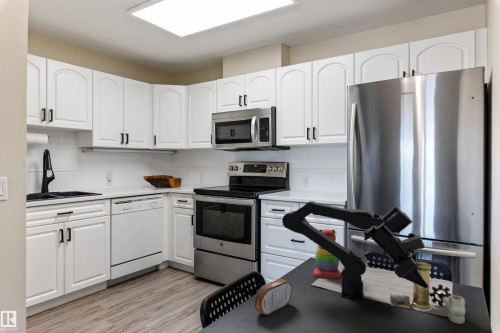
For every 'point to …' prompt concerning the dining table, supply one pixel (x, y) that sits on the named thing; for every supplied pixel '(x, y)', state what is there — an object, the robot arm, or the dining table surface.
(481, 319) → the dining table surface
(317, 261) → the stacking bear
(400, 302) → the small brown box
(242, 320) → the dining table surface
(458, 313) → the valve
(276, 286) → the tin
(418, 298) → the gold tall rounded piece
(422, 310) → the gap pad
